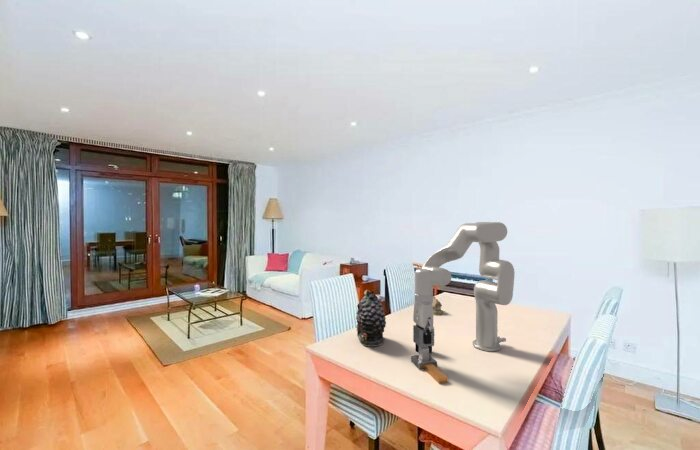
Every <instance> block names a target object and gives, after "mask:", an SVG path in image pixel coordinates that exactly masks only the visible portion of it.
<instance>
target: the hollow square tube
mask: <svg viewBox="0 0 700 450" xmlns="http://www.w3.org/2000/svg"><path fill="white" fill-rule="evenodd" d="M427 326H428V325H427ZM427 326H426V327H427ZM412 327H413V328H412V331H413V332H412V333H413V334H412V335H413V337H412V339H413V340H412V341H413V343H414V344H415V343H416V344H417V345H418V346H419V347H427V346H432V347H434V346H435V329H434V330H433V332H432V334H431V344H424V334H425V332H424V328H422V327H420V326H419V325H416V324H415V325H413V326H412ZM428 329H429V328H426V330H428Z"/></svg>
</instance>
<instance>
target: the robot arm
mask: <svg viewBox="0 0 700 450" xmlns="http://www.w3.org/2000/svg"><path fill="white" fill-rule="evenodd" d="M507 235H508V227H507V226H506V224H505V223H503V222H496V221H495V222H494V221H492V222H491V221H479V222H473V223H472V222H470V223H469V222H468V223H467V222H466V223H463V224H461V225H460V226H459V227H458V228H457V229H456V231H455V232H454V234H453V236H452V237H451V238H450V240H449V241H448V242H447V244H446V245H445V246H444V247H442V248H440V249H439V250H437V251H436V252H434V253H433V254H432V255H430V256H429V257H428V258H427V260H426V261H425V263H424V264H423V266H422V267H421V268H417V269H415V271H414V303H413V304H414V305H413V315H412V316H413V317H412V318H413V323H414V324H415V325H419V326H420V327H422V328H424V332H425V334H424V344H431V334H432V332H433V330H434V331H435V327H434V315H433V306H432V303H433V297H434V286H436V287H437V286H439V287H445V286H447V285H449V284H450V283H451V281H452V274H451V272H450V271H449V270H448V269H446V268H443V267H441V266H443V265H445V264H447V263H449V262H453V261H457V260H459V259H462V258H463V257H464V255H465V254H466V253H467V251H468V249H469V248H470V247H471V245H472V244H473V243H478V245H479V250H480V253H479V254H480V256H479V265H478V272H479V275H480V276H481V277H483V278H487V279H492V280H496V281H497V282H495V281H491V280H479V281H477V282H476V283H475V284H474V287H473V294H474V295H473V296H474V300H475V339H474V340H472V347H474V348H476V349H478V350H481V351H485V352H498V351H500V350H501V348H502V345H501V343H504V342H505V343H506V342H507V338H506V337H500V336H498V314H499V313H498V308H497V305H500V306H508V305H509V304H510V303H511V302H512V300H513V297H514V296H513V295H514V287H515V274H516V273H515V268H514V265H513V264H512V262H510V261H508V260H505V259H500V246H499V244H498V242H501V241H503V240H504V239H505V238H507ZM427 325H428V326H427ZM426 326H427V327H426ZM426 328H429V329H428V330H426Z"/></svg>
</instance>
